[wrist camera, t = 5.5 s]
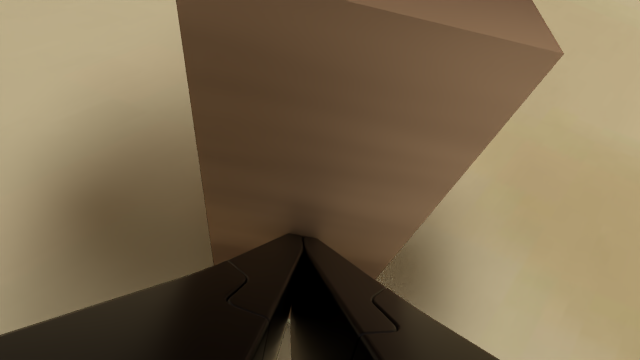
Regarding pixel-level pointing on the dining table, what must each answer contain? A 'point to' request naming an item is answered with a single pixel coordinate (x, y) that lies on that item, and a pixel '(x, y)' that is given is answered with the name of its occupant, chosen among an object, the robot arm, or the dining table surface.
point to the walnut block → (349, 112)
